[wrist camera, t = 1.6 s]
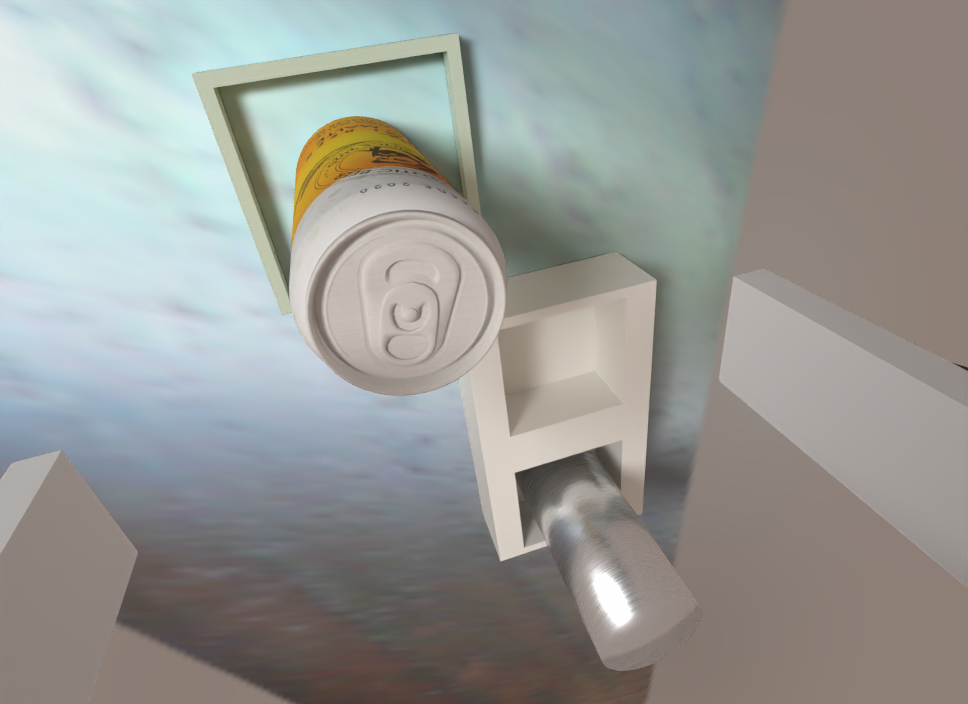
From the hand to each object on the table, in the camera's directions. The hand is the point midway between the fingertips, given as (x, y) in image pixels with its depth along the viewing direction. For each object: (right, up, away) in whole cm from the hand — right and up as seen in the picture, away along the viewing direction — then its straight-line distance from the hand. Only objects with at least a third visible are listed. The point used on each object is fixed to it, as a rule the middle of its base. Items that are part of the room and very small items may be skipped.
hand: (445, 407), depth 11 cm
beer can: (-5, +10, +16) cm, 19 cm away
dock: (+5, -2, +26) cm, 26 cm away
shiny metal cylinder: (+6, -7, +28) cm, 30 cm away
